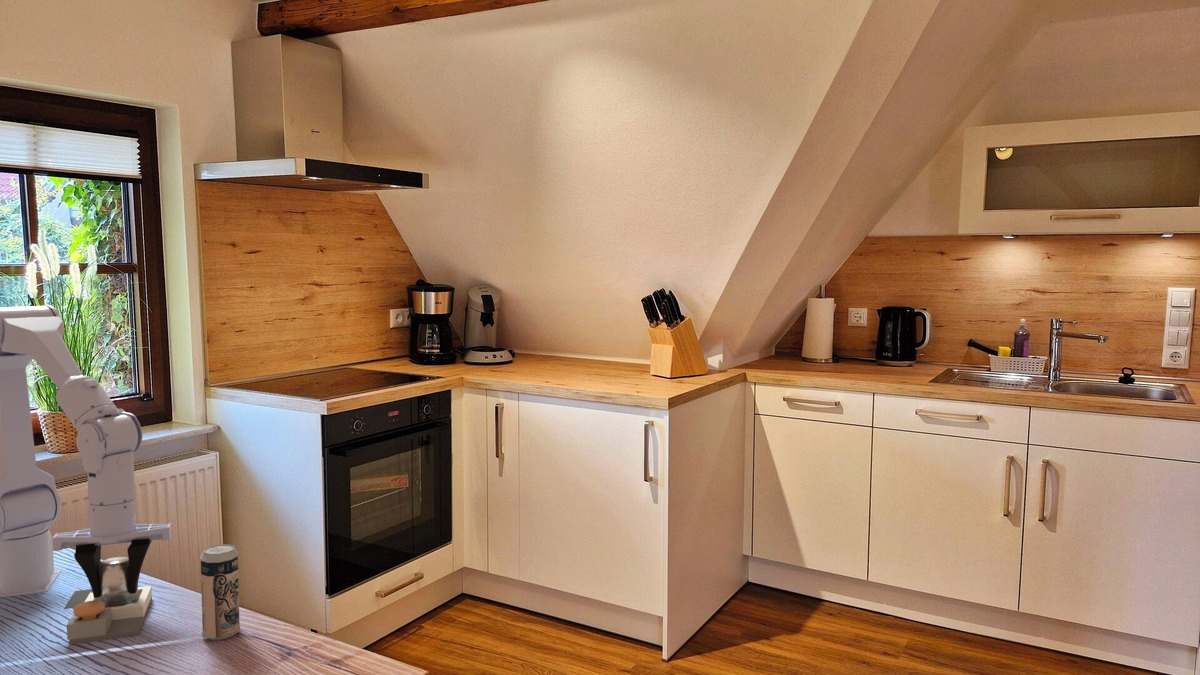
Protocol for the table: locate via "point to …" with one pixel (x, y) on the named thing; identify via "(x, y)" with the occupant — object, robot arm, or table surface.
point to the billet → (115, 582)
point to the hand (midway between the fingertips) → (115, 593)
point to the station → (111, 620)
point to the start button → (89, 609)
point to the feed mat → (78, 598)
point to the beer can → (220, 592)
